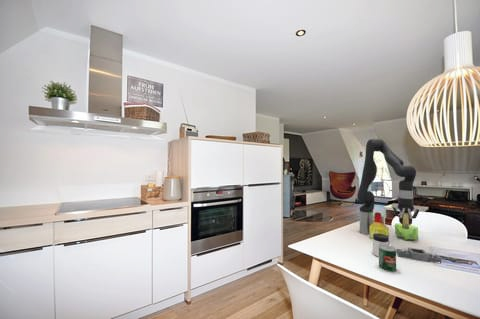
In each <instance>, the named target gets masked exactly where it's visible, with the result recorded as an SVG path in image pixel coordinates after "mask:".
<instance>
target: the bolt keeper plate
mask: <svg viewBox="0 0 480 319" xmlns="http://www.w3.org/2000/svg"><path fill="white" fill-rule="evenodd" d="M395 249H396V256H398V257H399V258H405V259H410V260H414V261H419V262H426V263H429V262H430V263H435V262H440V263H439V264H441V263H442V262H443V261H442V258H441V257H440V256H439V255H438V254H437V253H429V252H426V251H425V249H421V248H413V247H407V249H402V248H401V249H400V248H395Z"/></svg>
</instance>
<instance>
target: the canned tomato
mask: <svg viewBox="0 0 480 319" xmlns="http://www.w3.org/2000/svg"><path fill="white" fill-rule="evenodd" d="M396 249H397V248H395V247H393V246H391V245H389V246H387V245H380V246H379V257H378V268H379V269H380V270H383V271H386V272H392V273H394V272H396V271H397V253H396Z"/></svg>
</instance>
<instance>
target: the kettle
mask: <svg viewBox="0 0 480 319" xmlns="http://www.w3.org/2000/svg"><path fill="white" fill-rule="evenodd" d="M392 226H394V234H395V235H396V236H397V237H398V238H402V240H403V241H408V240H411V241H415V240H419V227H418V226H415V225H412V224H411V225H409V229H403V228H402V224H401V223H400V222H399V223H398V222H397V223H394V224H392Z"/></svg>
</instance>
